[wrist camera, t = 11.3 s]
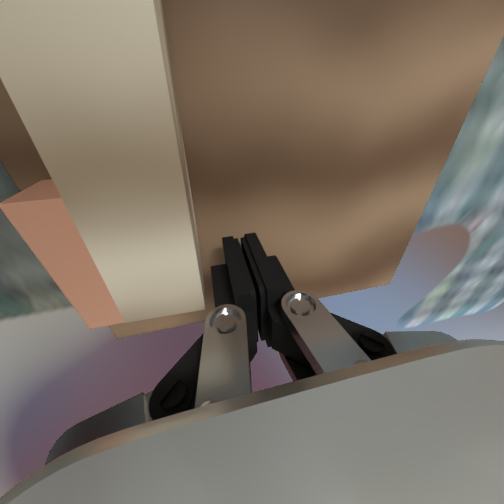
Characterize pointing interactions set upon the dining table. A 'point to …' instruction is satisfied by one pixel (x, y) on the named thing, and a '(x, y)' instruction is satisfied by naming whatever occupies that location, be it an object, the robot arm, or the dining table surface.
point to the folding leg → (110, 141)
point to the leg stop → (61, 251)
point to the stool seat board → (309, 128)
